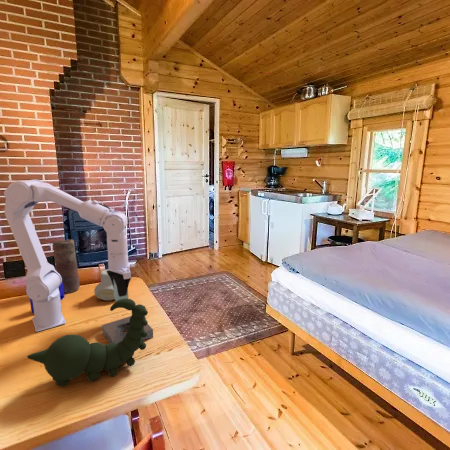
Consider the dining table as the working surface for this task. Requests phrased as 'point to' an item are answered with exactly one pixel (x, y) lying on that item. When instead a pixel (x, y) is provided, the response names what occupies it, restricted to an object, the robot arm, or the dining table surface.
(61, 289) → the cable clip
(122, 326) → the port block
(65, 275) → the candle
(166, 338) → the dining table surface
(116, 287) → the plug
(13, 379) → the dining table surface
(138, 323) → the toy figurine
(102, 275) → the air freshener
